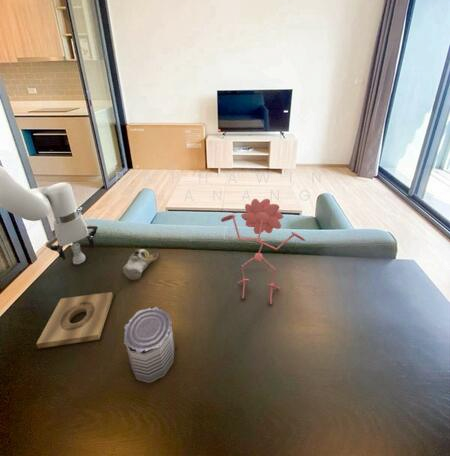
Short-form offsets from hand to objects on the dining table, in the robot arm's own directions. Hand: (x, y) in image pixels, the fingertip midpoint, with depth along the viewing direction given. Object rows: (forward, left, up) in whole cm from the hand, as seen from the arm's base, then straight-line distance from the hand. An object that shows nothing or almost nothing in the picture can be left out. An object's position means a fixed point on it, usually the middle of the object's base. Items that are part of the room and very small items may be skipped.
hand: (78, 251), depth 96 cm
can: (+34, -40, -5) cm, 53 cm away
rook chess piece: (0, 0, -5) cm, 5 cm away
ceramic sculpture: (+25, -8, -5) cm, 26 cm away
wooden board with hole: (+10, -26, -4) cm, 28 cm away
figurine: (+68, -22, -5) cm, 71 cm away
